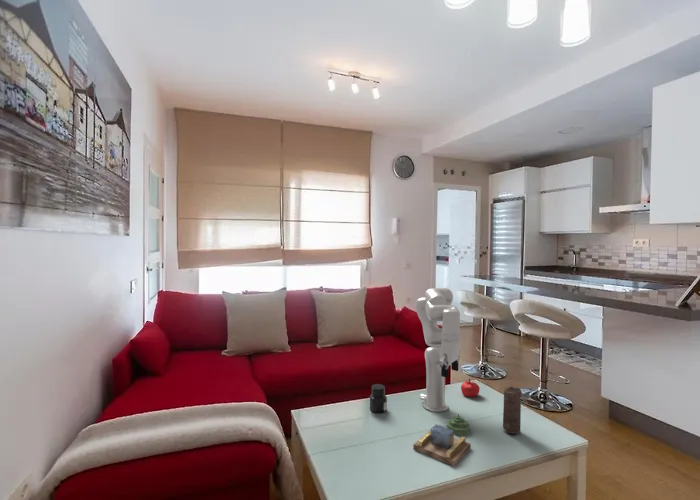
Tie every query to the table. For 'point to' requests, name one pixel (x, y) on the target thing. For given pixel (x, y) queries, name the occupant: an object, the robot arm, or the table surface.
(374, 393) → the ink bottle
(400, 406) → the table surface
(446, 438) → the block
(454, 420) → the decorative artifact
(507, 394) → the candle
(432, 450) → the channel stand
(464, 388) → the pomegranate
